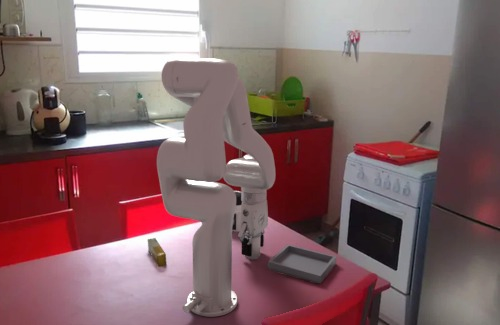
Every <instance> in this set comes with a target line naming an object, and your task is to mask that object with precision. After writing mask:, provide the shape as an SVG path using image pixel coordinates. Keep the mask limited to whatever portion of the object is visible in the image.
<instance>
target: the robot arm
mask: <svg viewBox="0 0 500 325" xmlns="http://www.w3.org/2000/svg"><path fill="white" fill-rule="evenodd" d="M161 82H162V85H163V88H164V89H165V90H166V92H167V93H168V94H169V95H170V96H171V97H173V98H174V99H176V100H178V101H180V102H182V103H183V104H185V105H187V106H189V107H190V108H189V109H188V111H187V113H186V114H185V116H184V118H183V123H182V124H183V136H184V137H179V136H177V137H175V136H174V137H169V138H167V139H165V140H164V141H163V142H162V143H161V144H160V146H159V148H158V150H157V155H156V170H157V175H158V180H159V181H158V182H159V187H160V192H161V196H162V202H163V206H164V209H165V211H166V212H167V213H168V214H169V215H171V216H174V217H178V218H182V219H189V220H193V221H196V222H200V223H201V226H199V228H198V229H197V230H196V231H195V232H194V234H193V236H192V286H193V287H192V289H193V291H192V292H191V293H189V294H188V296H187V300H186V303H185V304H183V306H182V310H183V312H184V313H186V314H188V313H189V312H192V313H194V314H196V315H198V316H202V317H209V318H213V317H221V316H224V315H227V314H229V313H230V312H232V311H233V310H235V309H236V307H237V305H238V300H239V299H238V296H237V294H236V293H235V291H233V290H232V276H233V275H232V272H233V271H232V269H233V268H232V267H233V265H232V263H233V262H232V261H233V258H232V257H233V254H232V252H233V246H232V245H233V231H232V226H233V219H234V213H235V208H236V194H235V192H234V191H235V190H234V189H233V188H232V187H230V186H233V187H237V188H239V187H240V192H241V201H242V205H241V213H240V232H238V235H237V238H238V239H239V241H240V243H241V255H243V256H245V255H246V256H249V257H250V256H251V255H252V244H250V243H251V239H252V236H256V235H257V234H259V233H260V232H261V237H260V248H263V247H264V238H265V236H264V235H265V232H266V231H265V229H266V228H267V227H268V225H269V214H268V213H269V211H268V200H267V193H268V192H267V191H268V190H270V189H271V188H272V187H273V185H274V184H275V181H276V165H275V159H274V153H273V151H272V148H271V146H270V145H269V144H268V143H267V141H266V140H265V139H264V138H263V137H262V136H261V134H259V133H258V132H257V131H256V130H255V129H254V127H253V124H252V118H251V111H250V106H249V100H248V94H247V90H246V85H245V83H244V81H243V80H242V79H241V78H240V77H239V70H238V67H237V65H235V63H233V62H231V61H229V60H226V59H222V58H221V59H220V58H206V57H205V58H204V57H203V58H201V57H200V58H199V57H198V58H196V57H195V58H194V57H174V58H171V59H169V60H168V61H166V62H165V64H164V66H163V68H162V70H161ZM225 142H226V143H227V144H228V145H231V146H232V147H234V148H236V149H238V150H241V151H242V152H244V153H246V154H245V155H243V157H240V158H235V159H231V160H229V161H228V162H227V160H226V159H227V158H226V149H225ZM221 179H223V180H224V182H226V184H224V183H222V182H218V181H220V180H221ZM246 231H248V232H249V234H248V233H246ZM246 235H248V236H249V237H248V239H247V238H245V236H246Z"/></svg>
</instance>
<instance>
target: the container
mask: <svg viewBox="0 0 500 325" xmlns="http://www.w3.org/2000/svg"><path fill="white" fill-rule="evenodd" d="M234 192H235V194H236V208H235V213H234V219H233V226H232V232H233V231H234V232H235V233H236V232H238V233H239V232H240V213H241V205H242V201H241V191H239V190H234ZM234 232H233V233H234Z"/></svg>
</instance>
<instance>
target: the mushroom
mask: <svg viewBox="0 0 500 325" xmlns="http://www.w3.org/2000/svg"><path fill="white" fill-rule="evenodd" d="M246 233H248V234H249V232H248V231H246ZM248 237H249V236H248V235H246V236H245V238H247V239H248ZM260 237H261V232H260V233H259V234H257V235H256V236H252V239H251V243H250V244H252V255H251V256H250V257H249V256H246V255H244V256H245V258H246V259H248V260H257V259H259V258H260V257H261V247H260Z"/></svg>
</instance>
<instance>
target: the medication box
mask: <svg viewBox="0 0 500 325" xmlns="http://www.w3.org/2000/svg"><path fill="white" fill-rule="evenodd" d="M147 246H148V247H147V248H148V251H149V253H150V255H151V257H152V259H153V260H154V262H155V263H156V265H157V266H158V267H164V266H167V254H166V252H165V250H164V249H163V248H162V246H161V244H160V243H159V241H158V240H157V239H156V237H153V238H149V239H147Z"/></svg>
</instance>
